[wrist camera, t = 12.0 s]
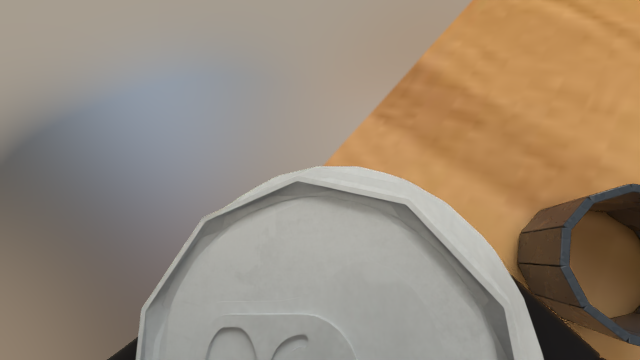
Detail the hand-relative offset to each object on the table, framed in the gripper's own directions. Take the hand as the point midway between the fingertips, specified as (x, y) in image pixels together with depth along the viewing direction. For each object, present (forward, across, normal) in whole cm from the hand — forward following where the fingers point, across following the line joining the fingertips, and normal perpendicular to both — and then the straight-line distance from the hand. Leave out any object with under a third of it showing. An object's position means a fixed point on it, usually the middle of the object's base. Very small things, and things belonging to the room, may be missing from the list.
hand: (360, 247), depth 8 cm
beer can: (+4, 0, +6) cm, 7 cm away
